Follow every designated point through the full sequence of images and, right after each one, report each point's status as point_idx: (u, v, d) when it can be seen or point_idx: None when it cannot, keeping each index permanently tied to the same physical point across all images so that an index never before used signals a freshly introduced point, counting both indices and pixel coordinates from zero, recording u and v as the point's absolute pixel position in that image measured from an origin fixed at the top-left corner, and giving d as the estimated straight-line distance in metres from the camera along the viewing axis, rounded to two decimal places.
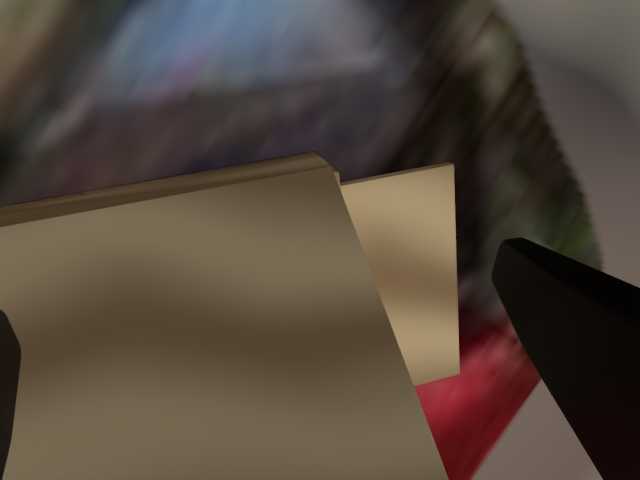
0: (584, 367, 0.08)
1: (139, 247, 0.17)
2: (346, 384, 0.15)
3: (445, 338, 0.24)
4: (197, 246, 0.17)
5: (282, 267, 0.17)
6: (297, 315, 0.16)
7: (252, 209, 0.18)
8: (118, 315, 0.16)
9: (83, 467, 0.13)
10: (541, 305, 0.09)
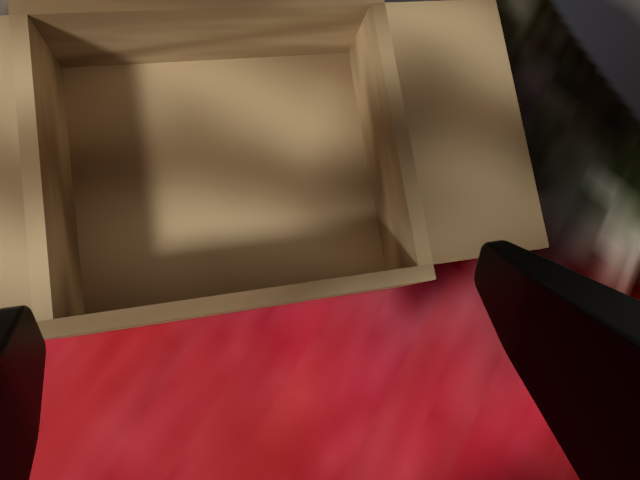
0: (563, 371, 0.08)
1: None
2: None
3: (522, 193, 0.20)
4: None
5: None
6: None
7: None
8: None
9: None
10: (521, 308, 0.09)
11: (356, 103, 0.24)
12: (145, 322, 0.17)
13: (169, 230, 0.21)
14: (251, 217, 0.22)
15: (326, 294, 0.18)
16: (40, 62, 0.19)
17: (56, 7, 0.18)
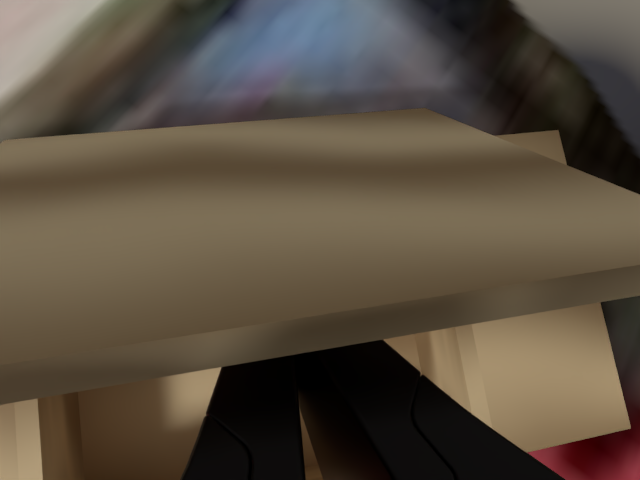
0: (319, 420, 0.07)
1: (210, 138, 0.14)
2: (512, 187, 0.10)
3: (597, 364, 0.17)
4: (279, 136, 0.14)
5: (386, 140, 0.13)
6: (417, 157, 0.12)
7: (341, 122, 0.16)
8: (179, 163, 0.12)
9: (103, 242, 0.08)
10: None
11: None
12: None
13: (185, 398, 0.19)
14: None
15: None
16: None
17: None
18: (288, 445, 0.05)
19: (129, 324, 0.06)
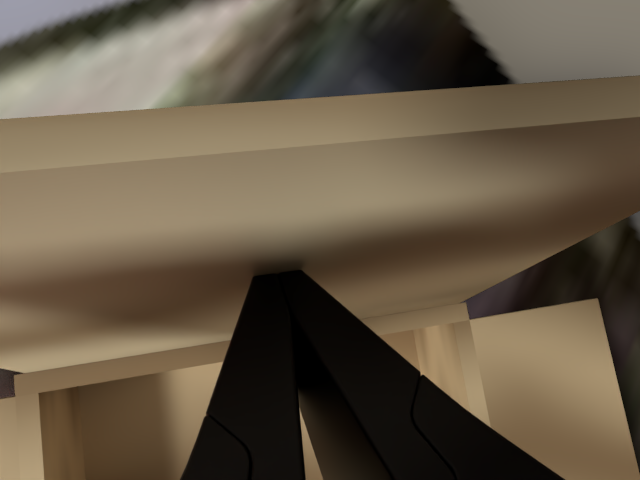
0: (319, 420, 0.07)
1: None
2: None
3: None
4: None
5: None
6: None
7: None
8: None
9: None
10: (294, 347, 0.08)
11: None
12: None
13: None
14: None
15: None
16: (53, 432, 0.15)
17: (73, 379, 0.15)
18: (288, 445, 0.05)
19: None
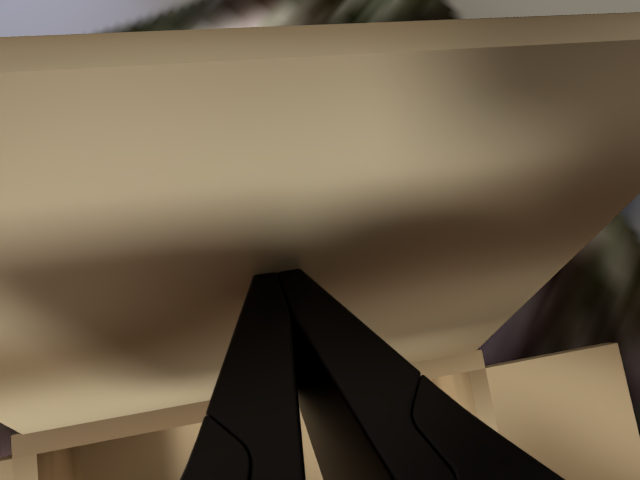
0: (319, 420, 0.07)
1: None
2: None
3: None
4: None
5: None
6: None
7: None
8: None
9: None
10: (294, 346, 0.08)
11: None
12: None
13: None
14: None
15: None
16: None
17: (73, 438, 0.14)
18: (288, 445, 0.05)
19: None
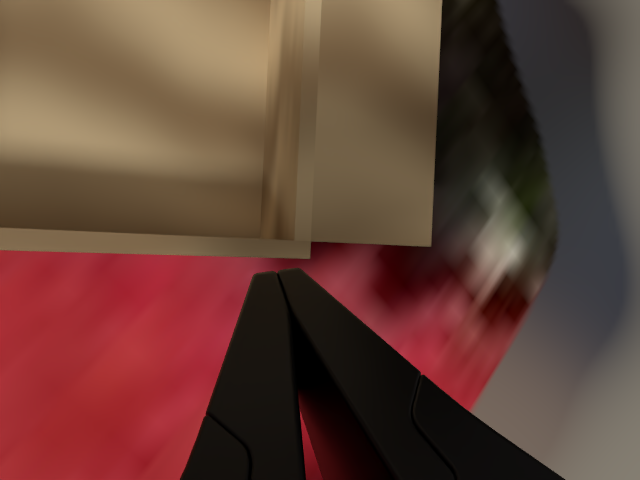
0: (319, 420, 0.07)
1: None
2: None
3: (418, 185, 0.19)
4: None
5: None
6: None
7: None
8: None
9: None
10: (294, 346, 0.08)
11: (268, 37, 0.21)
12: None
13: (0, 131, 0.17)
14: (114, 140, 0.18)
15: (182, 253, 0.16)
16: None
17: None
18: (288, 445, 0.05)
19: None
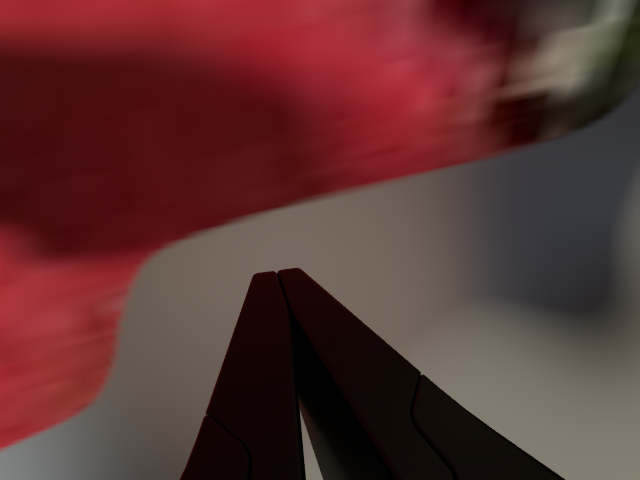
0: (319, 420, 0.07)
1: None
2: None
3: None
4: None
5: None
6: None
7: None
8: None
9: None
10: (294, 347, 0.08)
11: None
12: None
13: None
14: None
15: None
16: None
17: None
18: (288, 445, 0.05)
19: None
